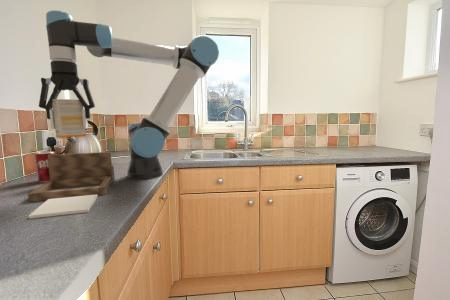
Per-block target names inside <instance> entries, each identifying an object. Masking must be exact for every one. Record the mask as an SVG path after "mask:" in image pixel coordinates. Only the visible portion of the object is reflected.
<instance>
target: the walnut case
mask: <svg viewBox="0 0 450 300" xmlns="http://www.w3.org/2000/svg"><path fill="white" fill-rule="evenodd" d="M48 163H49V172H50V180H49V181H47V182H45V183H43V184H42V185H39V186H37V188H35V189H34V190H32V191H30V192H29V193H27V196H28V202H40V201H47V200H48V199H54V198H65V197H76V196H86V195H97V194H98V196H102V195H106V193H107V192H108V190H109V188H110V186H111V185H112V182H113V181H115V180H116V179H115V177H116V175H115V166H114V165H113V163H112V151H102V152H99V151H97V152H79V153H61V154H59V153H58V154H56V155H48ZM87 185H88V186H87ZM89 185H97V186H89ZM73 186H74V187H75V186H84V187H75V188H65V187H73ZM85 186H86V187H85ZM63 187H64V189H62V188H63ZM54 188H61V189H54Z"/></svg>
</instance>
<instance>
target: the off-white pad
mask: <svg viewBox="0 0 450 300" xmlns="http://www.w3.org/2000/svg"><path fill="white" fill-rule="evenodd" d="M98 198H99V195H98V194H97V195H86V196H76V197H65V198H54V199H48V200H45V201H44V202H43V203H42V204H41V205H39V206H38V207H37V208H35V210H33V211H32V212H31V213H30V214H29V215H28V219H37V218H46V217H54V216H55V217H56V216H63V215H72V214H74V215H75V214H83V213H89V212H90V210H91V209H92V207H93V205H94V204H95V202H96V200H97V199H98Z"/></svg>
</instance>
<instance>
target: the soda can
mask: <svg viewBox="0 0 450 300" xmlns="http://www.w3.org/2000/svg"><path fill="white" fill-rule="evenodd" d="M48 155H57V153H56V151H51V150H50V151H41V152H40V151H39V152H36V153H35V154H34V160H35V168H36V169H35V170H36V177H37V182H39V183H43V184H44V183H46V182H47V181H49V180H50V172H49V163H48Z"/></svg>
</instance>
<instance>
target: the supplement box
mask: <svg viewBox="0 0 450 300" xmlns="http://www.w3.org/2000/svg"><path fill="white" fill-rule="evenodd" d="M52 107H53V108H52V110H53V116H54V124H55V129H54V132H55V138H57V139H65V138H73V137H74V138H79V137H86V136H87V135H86V132H87V131H86V128H84V124H83V113H82V110H84V107H83V105H82V104H81V102H80V101H79V99H65V98H63V99H62V98H61V99H59V98H57V99H53V102H52Z"/></svg>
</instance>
